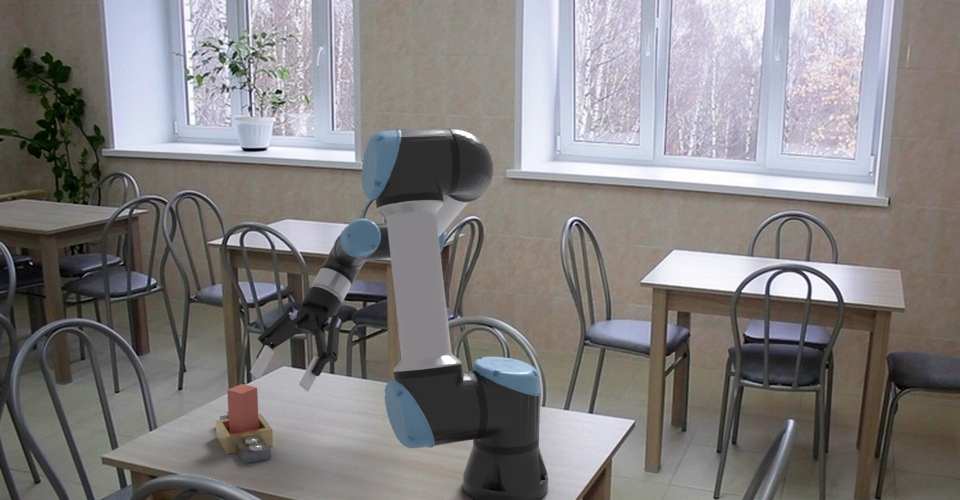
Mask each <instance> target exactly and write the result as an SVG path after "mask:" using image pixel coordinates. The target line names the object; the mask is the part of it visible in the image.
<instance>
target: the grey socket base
mask: <svg viewBox="0 0 960 500" xmlns="http://www.w3.org/2000/svg"><path fill="white" fill-rule="evenodd" d="M258 419H259V429H258V430H252V431H246V432H240V433H234V434H229V413H228V411H226V414H225V415H220V416H219V420H215V431H216V432H215V434H216V435H215V437H216V439H217V441H218V442H219V444H220V446H221V448H222V449H223V451H224V453H225V454H226V455H229V454H235V453H237V455H238V456H239V458H240V460H241V461H242V463H243V464H244V465H246V464H252V463H257V462H263V461H269V460H271V459H272V457H271V455H272V454H271V452H272V451H271V448H270V447H273V446H274V439H273V434H274V433H273V428H272V426H271V425H270V423H268V422H267V420H266V418H265V417H264V416H263V414H262V413H258Z"/></svg>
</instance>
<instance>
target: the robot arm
mask: <svg viewBox="0 0 960 500" xmlns="http://www.w3.org/2000/svg"><path fill="white" fill-rule="evenodd" d="M493 162H494V160H493V158H492V155H491V153H490V151H489V149H488V147H487V146H486V145H485V143H484V142H482V140H481V139H479V137H478V136H476V135H475V134H472V133H471V132H469V131H466V130H463V129H460V128H436V129H435V128H430V129H429V128H426V129H425V128H423V129H422V128H420V129H418V128H416V129H415V128H411V129H406V128H405V129H399V128H398V129H393V130H385V131H383V130H382V131H377V132H375V133H374V134H373V135H372V136H371V137H370V138H369V140H368V141H367V144H366V146H365V151H364V155H363V159H362V168H361V169H362V170H361V171H362V172H361V183H362V185H361V186H362V190H363V193H364V196H365V197H366V199H367V200H371V201H373V202H374V201H375V207H376V212H377V213H378V214H379V215H380V216H382V217H383V218H384V219H385V221H386V222H381V223H375V222H374V221H372V220H370V219H367V218H357V219H355V220H353V221H351V222H350V223H349V224H348V225H347V226H346V227H344V229H343V230H342V231H341V232H340V234H339V235H338V236H337V238H336V239H335V241H334V244H333V246H332V248H331V249H330V251H329V253H328V255H327V257H326V258H325V261H324V263H323V264H322V266H321V268H320V270H319V271H318V273H317V274H316V276H315V278H314V280H313V282H312V283H311V287H309V289H308V290H307V292H306V294H305V296H304V298H303V301H302V307H301V308H300V309H299V310H297V309H295V308H294V307H293V306H291V305H290V306H289V307H287V309H286V310H285V312H284V313H283V315H281V316H280V317H279V318H278V319H277V320H275V321H274V322H273V324H271V325H270V326H269V327H268V328H267V329H266V330H265V331H263V332H262V334H260V335H259V336H258V338H257V340H258V342H260V343H261V345H262V347H261V348H260V349H259V351H258V354H257V355H256V357H255V359H256V361H254V363H253V366H252V368H251V369H250V371H249V373H251V374H252V375H253V376H254V377H255V378H256V379H257V380H260V379H261V378H262V376H263V373H264V372H265V370H266V369H267V368H268V367H267V366H268V364H269V363H270V361H271V359H272V358H273V356H274V354H275V351H274V349H276V348H278V346H281V345H282V344H283V343H285V342H287V341H288V340H290V339H291V338H293V337H294V336H297V335H301V334H304V335H305V334H308V335H311V336H314V339H315V347H316V351H317V354H316V356H313V357H312V359H311V361H310V363H309V365H308V367H307V369H306V370H305V373H304V374H303V376H302V378H301V380H300V381H299V384H298V385H299V386H300V388H302V389H303V390H304V391H306V392H309V391H310V390H311V387H312V386H313V384H314V382H315V380H316V378H317V377H319V376H320V375H321V374H322V372H323V370H324V368H325V367H326V365H327V364H328V363H330V362H331V363H336V362H338V356H339V355H338V354H339V343H340V331H341V329H342V326H343V324H344V323H343V321H342V320H341V319H340V318H339V316H338V315H337V313H338V312H339V310H340V309H341V306H342V302H343V301H344V300H345V298H346V296H347V294H348V293H349V291H350V288H351V287H352V285H353V284H354V281H355V279H356V278H357V276H358V274H359V272H360V271H361V268H362V267H363V266H364V264H366V262H367V261H372V260H374V261H375V260H376V261H377V260H386V259H390V263H391V274H392V281H393V282H392V283H393V292H394V301H395V310H396V313H395V314H396V320H397V321H396V323H397V330H398V338H399V339H398V340H399V350H400V357H401V358H400V360H399V362H398V363H397V364H396V366H395V367H394V368H393V379H392V380H389V382H386V385H385V387H384V394H385V395H384V405H385V410H386V414H387V418H388V420H389V423H390V426H391V429H392V431H393V433H394V435H395V438H396V439H397V440H398V442H399V443H400V444H401V445H402V446H404V447H406V448H408V449H420V448H430V449H431V448H434V447H436V446H442V445H448V444H454V443H459V442H466V441H472V443H473V444H472V448H471V451H470V454H469V457H468V460H467V463H466V466H465V469H464V471H463V475H462V488H463V491H464V493H465V494H466V495H467V496H469V498H471V499H473V500H540V499H542V498H543V497H544V496H546V494H547V493H548V490H549V473H548V471H547V468H546V465H545V462H544V459H543V458H544V457H543V455H542V453H541V449H540V420H541V419H540V417H541V416H540V415H541V413H540V412H541V396H542V391H541V378H540V374H539V372H538V369H536V367H534V366H533V365H531V364H529V363H527V362H525V361H522V360H519V359H516V358H515V359H514V358H510V357H503V356H483V357H479V358H476V360H474V362H473V364H472V370H470V371H469V370H468V371H463V364H462V361H461V359H459V358H458V357H456V356H455V355H454V354H453V352H452V346H451V338H450V327H449V319H448V318H449V317H448V311H447V310H448V309H447V300H446V293H445V291H446V289H445V282H444V274H443V264H442V263H443V262H442V258H441V257H442V255H441V252H442V251H443V250H444V246H445V243H446V242H445V240H446V239H445V231H446V230H447V228H448V227H449V226H450V225H451V224H452V222H453V221H454V220H455V219H456V218H457V217H458V216H459V214H461V212H462V211H463V210H464V208H465V207H466V206H467V205H468V204H469V203H472V202H475V201H477V200H478V199H480V198H481V196H482V195H484V193H485V192H486V191H487V190H488V188H489V187H490V184H491V183H492V179H493V176H494V163H493ZM327 327H328V332H327V335H326V330H325V328H327ZM326 336H327V340H326Z"/></svg>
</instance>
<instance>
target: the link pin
mask: <svg viewBox="0 0 960 500" xmlns="http://www.w3.org/2000/svg"><path fill="white" fill-rule="evenodd" d="M258 396H259V395H258V387H256V386H251V385H249V384H244V383H241V384H239V385H236V386H233V387H231V388H228V389H227V410H228V411H227V412H228V413H229V434H234V433H240V432H246V431H252V430H258V429H259V419H258V414H259V401H258V400H259V399H258Z"/></svg>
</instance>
